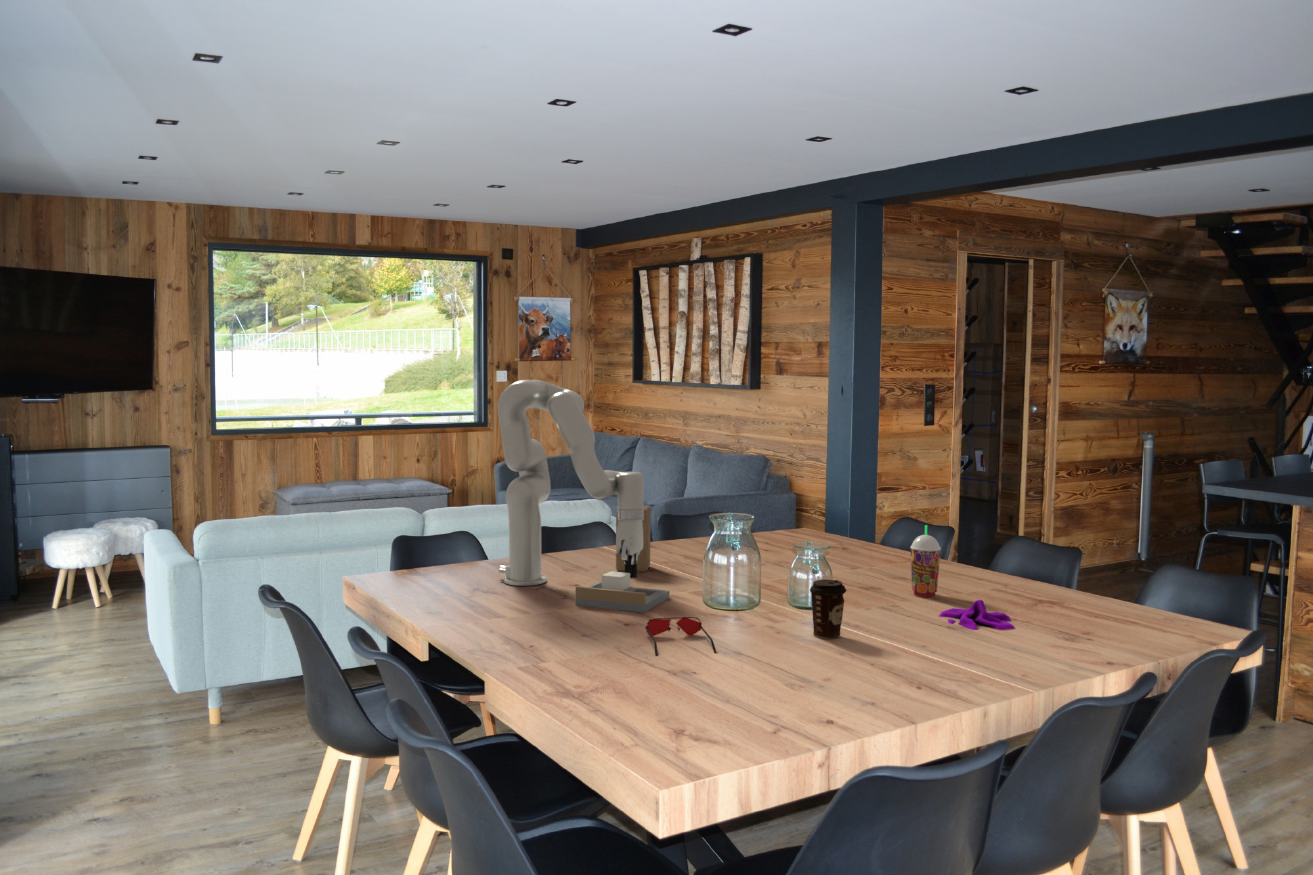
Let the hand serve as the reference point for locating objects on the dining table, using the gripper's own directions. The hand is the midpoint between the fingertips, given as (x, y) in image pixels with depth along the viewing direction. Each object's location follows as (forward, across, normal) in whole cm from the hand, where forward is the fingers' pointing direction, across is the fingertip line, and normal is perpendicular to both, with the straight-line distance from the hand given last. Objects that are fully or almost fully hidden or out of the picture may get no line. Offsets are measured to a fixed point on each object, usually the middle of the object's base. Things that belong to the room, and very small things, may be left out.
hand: (630, 577), depth 285 cm
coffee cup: (+4, +28, +64) cm, 70 cm away
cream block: (+1, +10, 0) cm, 10 cm away
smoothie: (+4, -25, +80) cm, 84 cm away
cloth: (+5, 0, +96) cm, 96 cm away
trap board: (+3, +16, +5) cm, 17 cm away
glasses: (+4, +49, +34) cm, 60 cm away
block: (+3, -25, -10) cm, 27 cm away
